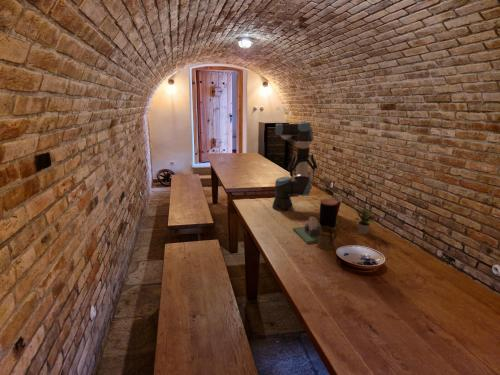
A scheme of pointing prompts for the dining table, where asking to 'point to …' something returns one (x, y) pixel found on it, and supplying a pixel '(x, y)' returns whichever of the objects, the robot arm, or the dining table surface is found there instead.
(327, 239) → the wooden mug
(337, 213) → the plastic cup
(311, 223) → the plug
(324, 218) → the coffee jar
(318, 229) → the board
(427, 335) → the dining table surface
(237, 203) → the dining table surface
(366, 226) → the house plant
